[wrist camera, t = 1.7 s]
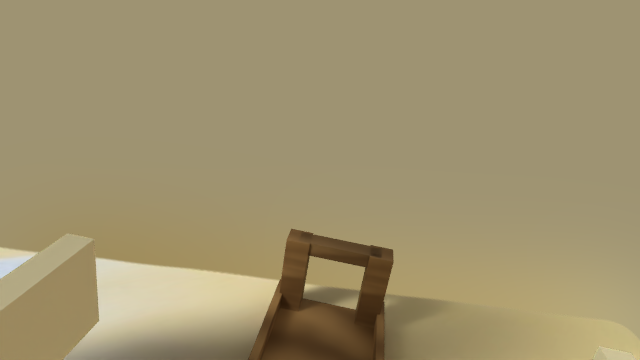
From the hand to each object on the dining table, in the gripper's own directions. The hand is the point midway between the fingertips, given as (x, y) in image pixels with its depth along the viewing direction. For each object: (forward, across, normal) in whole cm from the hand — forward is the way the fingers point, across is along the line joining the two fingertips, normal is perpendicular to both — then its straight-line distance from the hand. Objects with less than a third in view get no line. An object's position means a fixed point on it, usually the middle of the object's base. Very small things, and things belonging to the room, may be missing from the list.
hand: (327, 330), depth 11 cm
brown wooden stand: (+25, 0, -26) cm, 36 cm away
